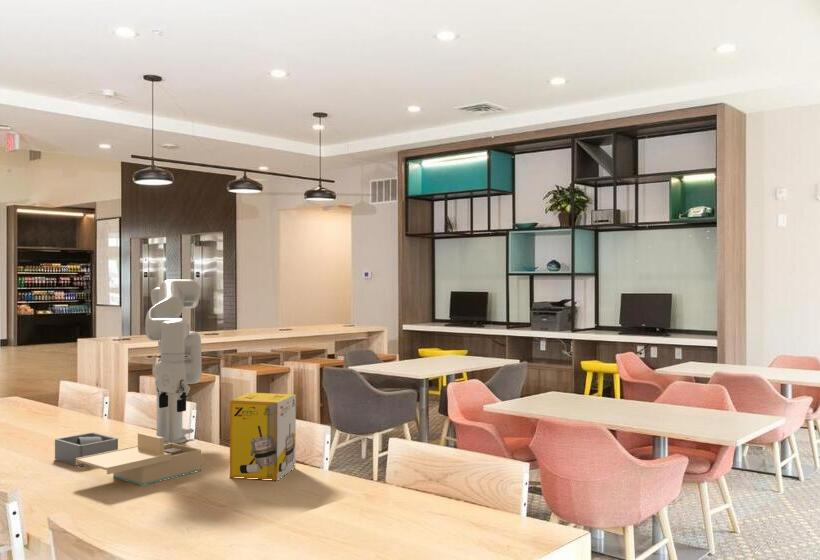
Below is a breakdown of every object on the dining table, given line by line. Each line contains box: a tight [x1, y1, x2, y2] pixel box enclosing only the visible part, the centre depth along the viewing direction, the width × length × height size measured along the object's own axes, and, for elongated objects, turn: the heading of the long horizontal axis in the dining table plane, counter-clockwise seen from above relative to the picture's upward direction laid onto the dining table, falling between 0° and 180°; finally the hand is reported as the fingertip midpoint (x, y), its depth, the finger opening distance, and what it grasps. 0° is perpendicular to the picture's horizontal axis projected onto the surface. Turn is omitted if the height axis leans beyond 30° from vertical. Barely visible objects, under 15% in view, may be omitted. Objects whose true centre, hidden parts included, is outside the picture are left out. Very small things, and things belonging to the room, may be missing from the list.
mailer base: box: [112, 443, 202, 486], centre depth 249 cm, size 22×16×7 cm
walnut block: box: [164, 448, 182, 456], centre depth 253 cm, size 4×4×6 cm
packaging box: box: [229, 392, 297, 480], centre depth 250 cm, size 16×16×25 cm
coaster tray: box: [54, 432, 119, 467], centre depth 267 cm, size 14×16×7 cm
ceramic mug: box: [76, 437, 103, 445], centre depth 270 cm, size 11×8×8 cm
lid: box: [76, 432, 171, 475], centre depth 239 cm, size 22×18×7 cm
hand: (172, 409), depth 253 cm, fingers open, 9 cm apart
